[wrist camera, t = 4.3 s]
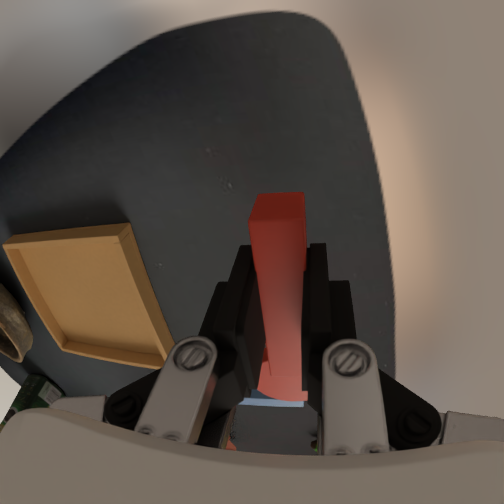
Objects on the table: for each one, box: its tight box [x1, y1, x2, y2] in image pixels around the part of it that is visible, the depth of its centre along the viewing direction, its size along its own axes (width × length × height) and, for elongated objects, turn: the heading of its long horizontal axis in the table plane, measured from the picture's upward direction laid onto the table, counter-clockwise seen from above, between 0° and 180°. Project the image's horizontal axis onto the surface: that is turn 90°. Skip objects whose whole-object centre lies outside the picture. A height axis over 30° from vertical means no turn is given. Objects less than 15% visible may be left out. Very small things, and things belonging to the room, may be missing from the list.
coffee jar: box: [0, 374, 66, 433], centre depth 37 cm, size 10×8×19 cm
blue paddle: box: [239, 389, 304, 407], centre depth 30 cm, size 11×4×2 cm, turn 97°
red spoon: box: [248, 192, 308, 401], centre depth 12 cm, size 11×4×2 cm, turn 7°
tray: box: [2, 223, 175, 369], centre depth 26 cm, size 15×16×2 cm
